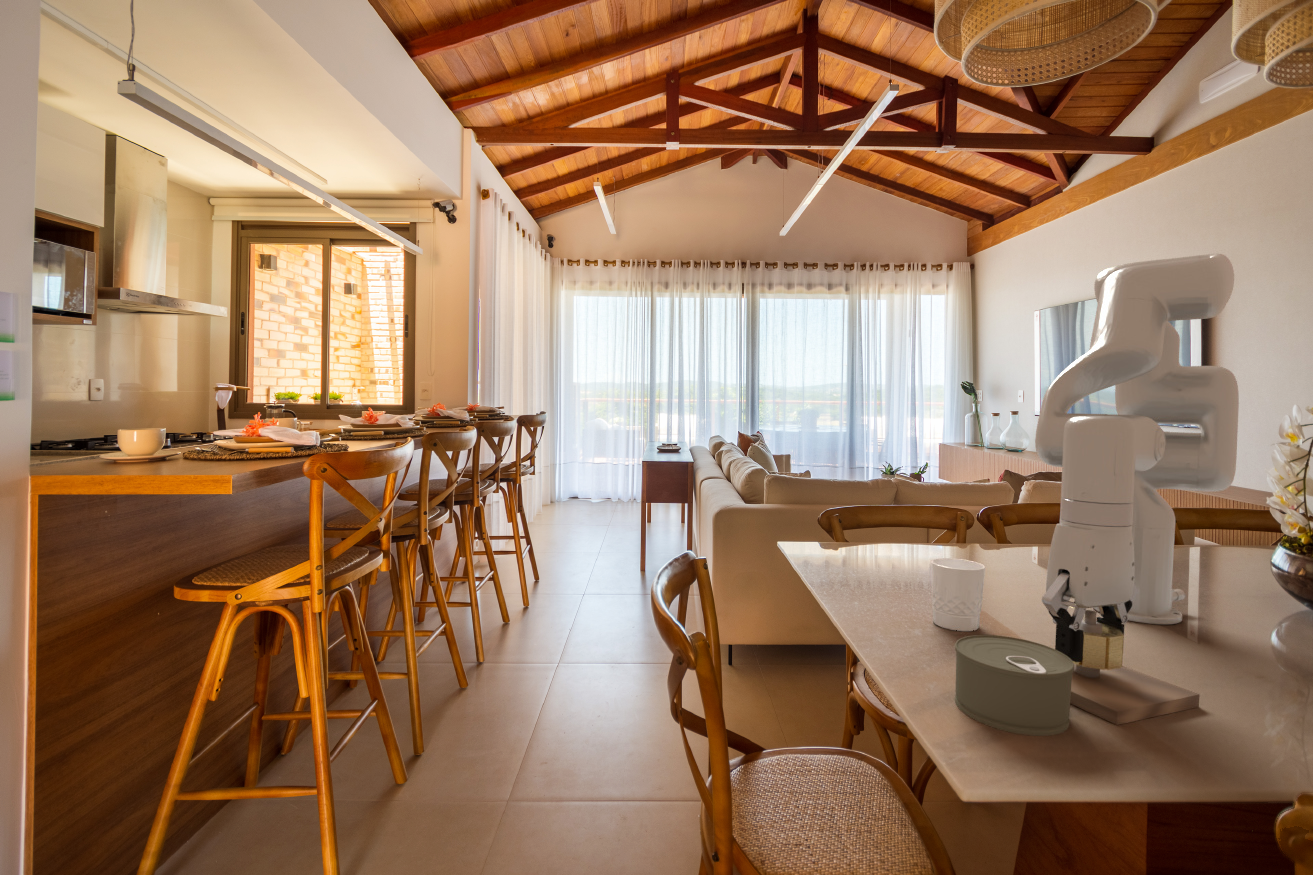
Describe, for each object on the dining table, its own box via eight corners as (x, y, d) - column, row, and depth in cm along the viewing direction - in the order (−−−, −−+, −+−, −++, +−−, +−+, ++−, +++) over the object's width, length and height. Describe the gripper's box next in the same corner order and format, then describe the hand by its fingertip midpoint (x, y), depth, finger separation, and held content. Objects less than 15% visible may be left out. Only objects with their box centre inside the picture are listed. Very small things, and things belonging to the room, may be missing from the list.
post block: (1064, 654, 92) (1067, 588, 92) (1198, 706, 76) (1203, 627, 76) (989, 666, 88) (992, 597, 87) (1116, 724, 72) (1120, 640, 71)
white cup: (989, 635, 100) (991, 571, 100) (934, 630, 102) (937, 567, 101) (974, 618, 108) (977, 559, 107) (924, 615, 109) (926, 556, 109)
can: (1032, 689, 81) (1035, 635, 80) (1096, 738, 69) (1099, 675, 68) (936, 687, 81) (938, 633, 81) (983, 736, 69) (985, 672, 69)
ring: (1082, 646, 86) (1083, 617, 86) (1133, 665, 80) (1134, 633, 80) (1045, 652, 84) (1047, 622, 84) (1095, 672, 78) (1097, 639, 77)
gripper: (1113, 507, 88) (1107, 637, 88) (1017, 512, 82) (1012, 652, 82) (1174, 516, 80) (1166, 657, 81) (1074, 522, 75) (1067, 675, 75)
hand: (1088, 653), depth 82 cm, fingers closed on ring, 6 cm apart
